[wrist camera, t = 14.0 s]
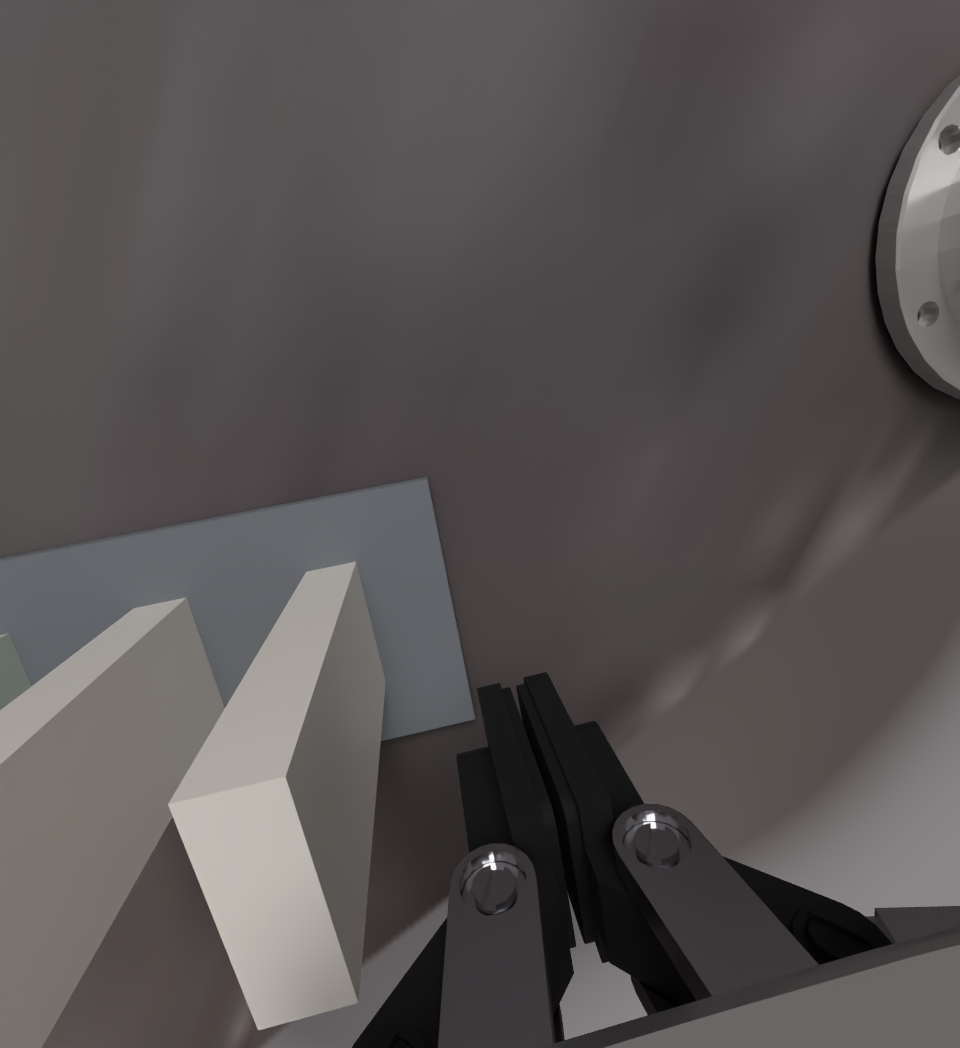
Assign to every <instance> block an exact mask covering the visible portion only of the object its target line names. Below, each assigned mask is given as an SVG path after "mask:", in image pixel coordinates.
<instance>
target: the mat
mask: <svg viewBox="0 0 960 1048" xmlns="http://www.w3.org/2000/svg"><path fill="white" fill-rule="evenodd" d="M352 562H356V563H357V567H358V571H359V575H360V579H361V584H362V588H363V592H364V596H365V600H366V604H367V608H368V612H369V616H370V620H371V624H372V628H373V632H374V636H375V640H376V644H377V648H378V652H379V656H380V660H381V665H382V669H383V673H384V677H385V681H386V685H385V697H384V708H383V720H382V732H381V741H384V740H388V739H393V738H397V737H401V736H406V735H410V734H414V733H418V732H423V731H427V730H431V729H436V728H440V727H444V726H449V725H453V724H457V723H461V722H466V721H470V720H474V719H475V715H474V710H473V705H472V700H471V695H470V690H469V685H468V680H467V675H466V670H465V665H464V660H463V655H462V650H461V645H460V640H459V635H458V630H457V625H456V620H455V615H454V610H453V605H452V600H451V595H450V590H449V585H448V580H447V575H446V570H445V565H444V560H443V555H442V550H441V545H440V540H439V535H438V530H437V525H436V520H435V515H434V510H433V505H432V500H431V495H430V490H429V485H428V480H427V477H423V478H418V479H412V480H407V481H402V482H397V483H391V484H386V485H381V486H376V487H370V488H365V489H360V490H355V491H349V492H344V493H339V494H334V495H328V496H323V497H318V498H313V499H307V500H302V501H297V502H292V503H286V504H281V505H276V506H271V507H265V508H260V509H255V510H250V511H244V512H239V513H234V514H229V515H223V516H218V517H213V518H208V519H202V520H197V521H192V522H187V523H181V524H176V525H171V526H166V527H160V528H155V529H150V530H145V531H139V532H134V533H129V534H124V535H119V536H113V537H108V538H103V539H98V540H92V541H87V542H82V543H77V544H71V545H66V546H61V547H56V548H50V549H45V550H40V551H35V552H29V553H24V554H19V555H14V556H8V557H3V558H0V635H2V634H8V633H9V635H10V637H11V639H12V642H13V644H14V647H15V649H16V651H17V654H18V656H19V658H20V661H21V663H22V665H23V668H24V670H25V673H26V675H27V677H28V680H29V682H30V684H31V686H33V685H34V684H35V683H37V682H38V681H39V680H41V679H42V678H43V677H45V676H46V675H47V674H48V673H50V672H51V671H52V670H54V669H55V668H56V667H58V666H59V665H60V664H62V663H63V662H64V661H65V660H67V659H68V658H69V657H71V656H72V655H73V654H75V653H76V652H77V651H79V650H80V649H81V648H82V647H84V646H85V645H86V644H88V643H89V642H90V641H92V640H93V639H94V638H96V637H97V636H98V635H99V634H101V633H102V632H103V631H105V630H106V629H107V628H109V627H110V626H111V625H113V624H114V623H115V622H116V621H118V620H119V619H120V618H122V617H123V616H124V615H126V614H127V613H128V612H130V611H131V610H132V609H133V608H137V607H142V606H147V605H152V604H157V603H162V602H167V601H172V600H177V599H182V598H187V600H188V603H189V606H190V609H191V612H192V615H193V618H194V621H195V624H196V626H197V629H198V632H199V635H200V638H201V641H202V644H203V647H204V650H205V653H206V655H207V658H208V661H209V664H210V667H211V670H212V673H213V676H214V679H215V682H216V684H217V687H218V690H219V693H220V696H221V699H222V702H223V705H224V708H226V706H227V704H228V702H229V701H230V699H231V697H232V696H233V694H234V692H235V691H236V689H237V687H238V686H239V684H240V682H241V681H242V679H243V677H244V676H245V674H246V672H247V671H248V669H249V667H250V665H251V664H252V662H253V660H254V659H255V657H256V655H257V654H258V652H259V650H260V649H261V647H262V645H263V644H264V642H265V640H266V639H267V637H268V635H269V634H270V632H271V630H272V628H273V627H274V625H275V623H276V622H277V620H278V618H279V617H280V615H281V613H282V612H283V610H284V608H285V607H286V605H287V603H288V602H289V600H290V598H291V597H292V595H293V593H294V591H295V590H296V588H297V586H298V585H299V583H300V581H301V580H302V578H303V576H304V575H305V573H306V572H307V571H312V570H317V569H322V568H327V567H332V566H337V565H342V564H347V563H352Z"/></svg>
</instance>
